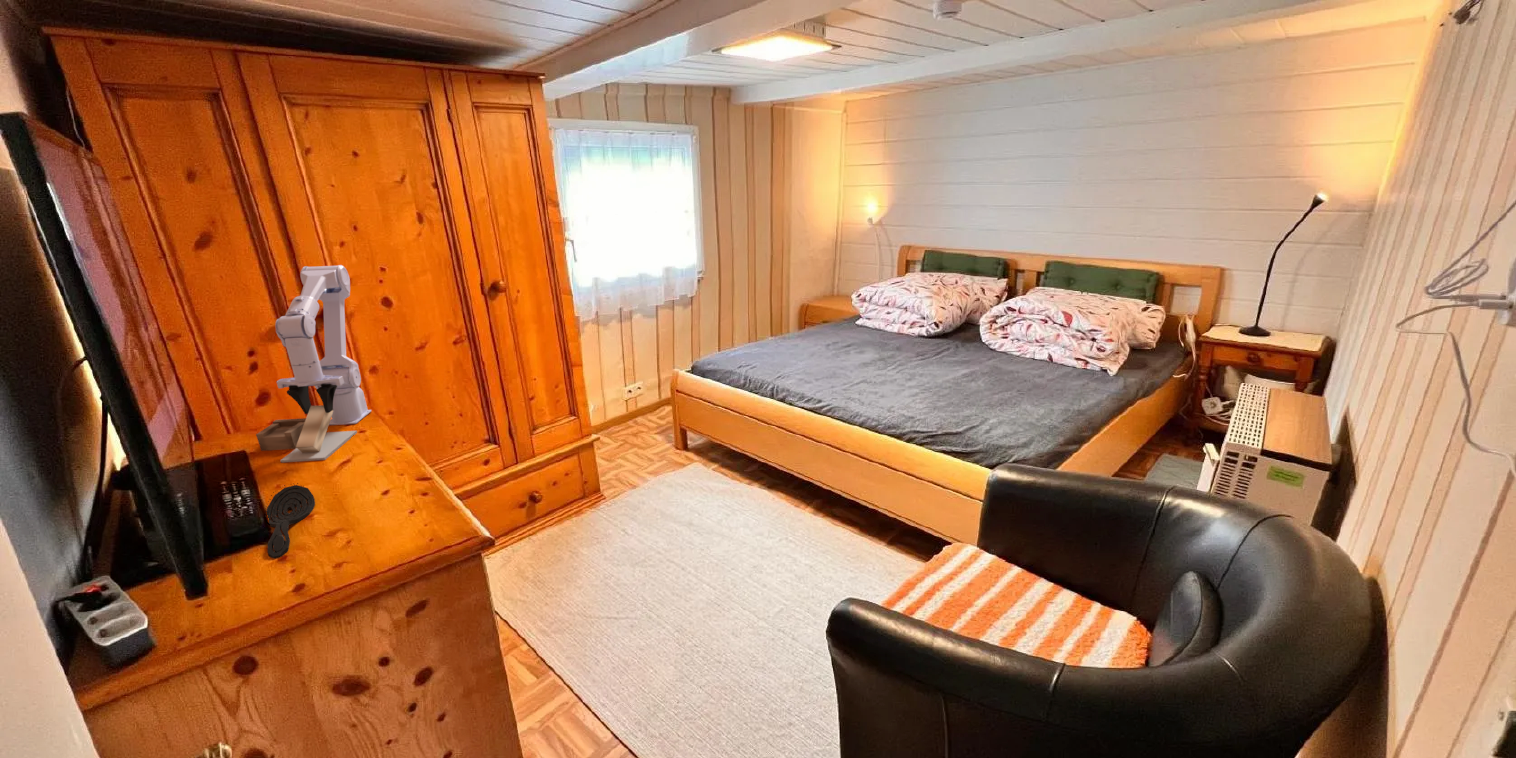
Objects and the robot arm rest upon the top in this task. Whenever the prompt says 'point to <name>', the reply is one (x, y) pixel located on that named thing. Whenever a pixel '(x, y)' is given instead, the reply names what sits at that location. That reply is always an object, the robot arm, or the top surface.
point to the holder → (281, 434)
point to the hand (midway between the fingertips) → (319, 411)
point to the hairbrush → (287, 515)
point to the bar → (314, 429)
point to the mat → (328, 447)
